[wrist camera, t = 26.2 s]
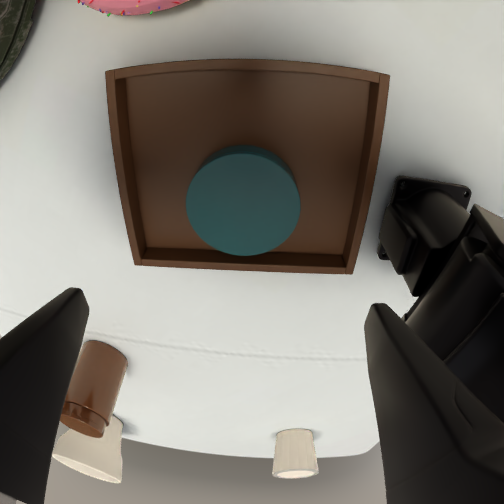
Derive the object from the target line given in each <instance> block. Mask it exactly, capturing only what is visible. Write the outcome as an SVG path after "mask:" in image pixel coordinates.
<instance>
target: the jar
mask: <svg viewBox="0 0 504 504" xmlns="http://www.w3.org/2000/svg"><path fill="white" fill-rule="evenodd" d="M127 366H128V362H127V360H126V358H125V357H124V355H123V354H122V353H121V352H119V351H118V350H117V349H115V348H114V347H112V346H110V345H108V344H106V343H103V342H99V341H87V342H85V343H84V344H83V346H82V349H81V351H80V353H79V356H78V359H77V362H76V365H75V368H74V372H73V375H72V378H71V381H70V385H69V388H68V392H67V395H66V399H65V402H64V406H63V410H62V413H61V417H60V421H61V422H62V423H63V424H65V425H66V426H68V427H69V428H71V429H73V430H75V431H77V432H79V433H81V434H84V435H86V436H90V437H94V438H102V437H103V434H104V431H105V428H106V427H107V426H109V424H110V421H111V417H112V414H113V410H114V407H115V404H116V401H117V397H118V394H119V391H120V388H121V385H122V382H123V379H124V375H125V372H126V369H127Z"/></svg>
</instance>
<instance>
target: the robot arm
mask: <svg viewBox="0 0 504 504" xmlns="http://www.w3.org/2000/svg"><path fill="white" fill-rule="evenodd" d="M401 182H405V183H404V185H403V186H400V184H401ZM465 192H466V194H465V195H464V193H465ZM470 197H471V190H470V189H469V188H468V187H466V186H463V185H457V184H452V183H446V182H440V181H434V180H428V179H422V178H415V177H408V176H399V177H397V178H396V180H395V182H394V187H393V191H392V196H391V200H390V204H389V205H388V206H387V207H386V210H385V214H384V218H383V222H382V226H381V230H380V234H379V239H380V242H379V246H378V250H377V254H378V257H379V258H380V259H381V260H390V261H391V263H392V265H393V267H394V269H395V271H396V273H397V274H398V275H403V277H404V279H405V281H406V283H407V285H408V288H409V290H410V292H411V294H412V296H414V297H419V298H418V299H417V300H416V302H415V303H414V305H413V306H412V307H411V309H410V310H409V311H408V313H405V314H404V316H403V317H402V318H400V317H399V316H398V315H397V314H396V313H395V312H394V311H393V310H392V309H391V308H390V307H389V306H388V305H387V304H385V303H374V304H372V305H371V307H370V310H369V313H368V315H367V318H366V321H365V325H364V331H365V341H366V351H367V363H368V373H369V379H370V384H371V390H372V395H373V401H374V406H375V412H376V418H377V425H378V431H379V438H380V445H381V452H382V460H383V467H384V476H385V486H386V498H387V504H504V219H502V218H501V217H499V216H497V215H495V214H493V213H492V212H490V211H488V210H486V209H484V208H482V207H480V206H479V205H477V204H474V205H473V207H472V209H471V210H470V213H471V214H469V213H468V212H467V211H466V209H467V206H468V203H469V200H470ZM383 252H386V253H384V254H382V253H383ZM88 316H89V306H88V303H87V301H86V298H85V296H84V294H83V291H82V290H81V289H80V288H73V287H71V288H68V289H67V290H65V291H64V292H62V293H61V294H60V295H58V296H57V297H55V298H54V299H53V300H51V301H50V302H48V303H47V304H46V305H44V306H43V307H42V308H40V309H39V310H38V311H36V312H35V313H33V314H32V315H31V316H29V317H28V318H27V319H25V320H24V321H23V322H21V323H20V324H19V325H18V326H16V327H15V328H14V329H12V330H11V331H10V332H8V333H7V334H6V335H5V336H3V337H2V338H1V339H0V504H16V500H19V501H22V502H24V503H27V504H44V497H45V491H46V485H47V479H48V473H49V467H50V462H51V456H52V452H53V447H54V442H55V438H56V434H57V429H58V425H59V421H60V417H61V413H62V410H63V406H64V402H65V399H66V395H67V392H68V388H69V385H70V381H71V378H72V375H73V372H74V368H75V365H76V362H77V359H78V356H79V352H80V349H81V344H82V340H83V336H84V332H85V328H86V324H87V320H88Z"/></svg>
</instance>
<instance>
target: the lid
mask: <svg viewBox="0 0 504 504" xmlns="http://www.w3.org/2000/svg"><path fill="white" fill-rule="evenodd" d="M300 211H301V204H300V196H299V192H298V188H297V183H296V180H295V177H294V175H293V173H292V171H291V169H290V168H289V167H288V165H287V164H286V163H285V162H284V161H283V160H282V159H281V158H280V157H278V156H277V155H276V154H274V153H272V152H270V151H269V150H266V149H264V148H261V147H257V146H251V145H235V146H230V147H226V148H223V149H221V150H219V151H217V152H215V153H213V154H212V155H211V156H209V157H208V158H207V159H206V160H205V161H204V162H203V163H202V164H201V165H200V167H199V168H198V170H197V172H196V173H195V175H194V177H193V179H192V181H191V183H190V185H189V187H188V190H187V194H186V212H187V216H188V219H189V222H190V224H191V226H192V227H193V229H194V231H195V232H196V233H197V235H198V236H199V237H200V238H201V239H202V240H203V241H205V242H206V243H207V244H208V245H210V246H212V247H213V248H215V249H217V250H219V251H222V252H225V253H228V254H232V255H239V256H250V255H257V254H262V253H265V252H268V251H270V250H272V249H274V248H276V247H277V246H279V245H280V244H282V243H283V242H284V241H285V240H286V239H287V238H288V237H289V236H290V235H291V233H292V232H293V231H294V229H295V227H296V225H297V222H298V220H299V216H300Z"/></svg>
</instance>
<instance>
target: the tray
mask: <svg viewBox="0 0 504 504" xmlns="http://www.w3.org/2000/svg"><path fill="white" fill-rule="evenodd" d="M105 76H106V91H107V103H108V114H109V123H110V132H111V140H112V148H113V155H114V162H115V169H116V175H117V181H118V187H119V193H120V198H121V204H122V209H123V214H124V219H125V224H126V229H127V234H128V238H129V243H130V247H131V252H132V256H133V260H134V264H135V265H139V266H142V265H143V266H157V267H176V268H195V269H216V270H238V271H263V272H289V273H319V274H353V271H354V267H355V263H356V260H357V256H358V252H359V248H360V244H361V240H362V236H363V231H364V227H365V223H366V219H367V214H368V210H369V205H370V200H371V195H372V191H373V186H374V181H375V175H376V170H377V165H378V159H379V153H380V147H381V141H382V135H383V128H384V121H385V114H386V106H387V98H388V90H389V81H390V75H387V74H383V73H378V72H372V71H367V70H361V69H356V68H349V67H343V66H336V65H328V64H320V63H310V62H300V61H286V60H268V59H207V60H188V61H175V62H165V63H155V64H147V65H140V66H133V67H126V68H120V69H114V70H109V71H106V72H105ZM235 145H251V146H257V147H261V148H264V149H266V150H269V151H270V152H272V153H274V154H276V155H277V156H278V157H280V158H281V159H282V160H283V161H284V162H285V163H286V164H287V165H288V167H289V168H290V169H291V171H292V173H293V175H294V177H295V180H296V183H297V188H298V192H299V196H300V204H301V211H300V216H299V220H298V222H297V225H296V227H295V229H294V231H293V232H292V233H291V235H290V236H289V237H288V238H287V239H286V240H285V241H284V242H283V243H282V244H280V245H279V246H277V247H276V248H274V249H272V250H270V251H268V252H265V253H262V254H257V255H250V256H239V255H232V254H228V253H225V252H222V251H219V250H217V249H215V248H213V247H212V246H210V245H208V244H207V243H206V242H205V241H203V240H202V239H201V238H200V237H199V236H198V235H197V233H196V232H195V231H194V229H193V227H192V226H191V224H190V222H189V219H188V216H187V212H186V194H187V190H188V187H189V185H190V183H191V181H192V179H193V177H194V175H195V173H196V172H197V170H198V168H199V167H200V165H201V164H202V163H203V162H204V161H205V160H206V159H207V158H208V157H209V156H211V155H212V154H213V153H215V152H217V151H219V150H221V149H223V148H226V147H230V146H235Z"/></svg>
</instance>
